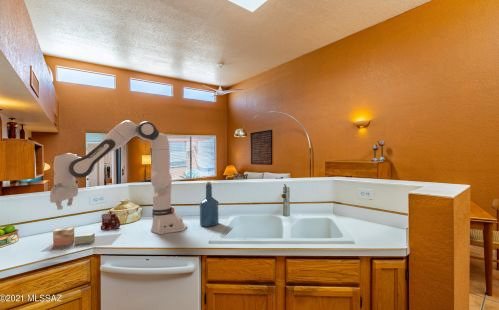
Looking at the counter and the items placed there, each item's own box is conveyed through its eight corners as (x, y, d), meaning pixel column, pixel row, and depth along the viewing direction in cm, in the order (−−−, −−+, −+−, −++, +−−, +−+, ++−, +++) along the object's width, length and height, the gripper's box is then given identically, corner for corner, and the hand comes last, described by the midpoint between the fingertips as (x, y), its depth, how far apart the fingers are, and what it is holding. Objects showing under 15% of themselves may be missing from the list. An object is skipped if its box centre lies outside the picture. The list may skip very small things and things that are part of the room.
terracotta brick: (74, 241, 125) (74, 234, 125) (70, 244, 121) (70, 237, 121) (57, 243, 123) (57, 235, 123) (53, 246, 119) (53, 238, 119)
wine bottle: (203, 228, 147) (202, 183, 147) (197, 223, 159) (196, 181, 159) (222, 225, 154) (221, 182, 154) (215, 220, 166) (214, 180, 166)
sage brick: (94, 239, 127) (94, 232, 127) (91, 242, 123) (91, 235, 123) (78, 241, 125) (78, 234, 125) (74, 243, 121) (74, 236, 121)
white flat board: (121, 235, 136) (121, 233, 136) (111, 246, 120) (111, 244, 120) (60, 241, 129) (60, 239, 129) (40, 253, 112) (40, 251, 112)
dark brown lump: (115, 231, 145) (115, 215, 145) (98, 231, 146) (97, 215, 146) (122, 227, 151) (122, 212, 151) (106, 227, 153) (105, 212, 153)
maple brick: (74, 234, 125) (74, 227, 125) (70, 237, 121) (70, 229, 121) (57, 235, 123) (57, 228, 123) (53, 238, 119) (53, 231, 119)
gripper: (60, 184, 113) (60, 211, 113) (80, 180, 133) (80, 203, 133) (45, 185, 111) (46, 212, 111) (67, 180, 131) (68, 204, 131)
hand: (65, 207), depth 122 cm, fingers open, 8 cm apart
